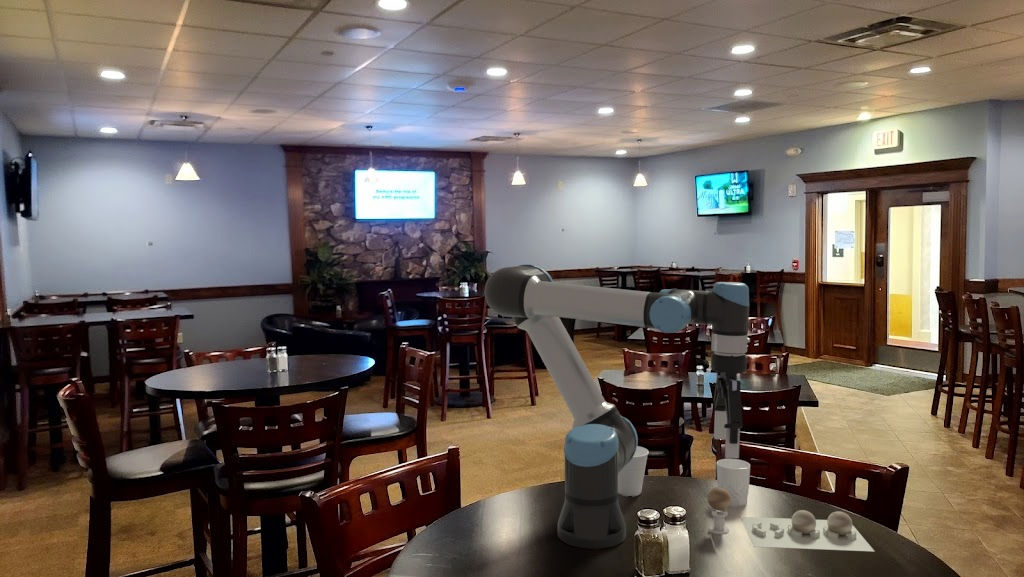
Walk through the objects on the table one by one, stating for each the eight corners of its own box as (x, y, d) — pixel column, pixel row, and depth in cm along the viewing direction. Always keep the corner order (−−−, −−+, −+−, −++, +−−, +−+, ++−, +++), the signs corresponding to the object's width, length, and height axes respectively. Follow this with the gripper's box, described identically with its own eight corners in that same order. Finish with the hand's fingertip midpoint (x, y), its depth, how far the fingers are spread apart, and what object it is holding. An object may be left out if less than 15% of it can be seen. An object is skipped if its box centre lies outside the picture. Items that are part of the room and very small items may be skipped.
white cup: (745, 497, 182) (746, 458, 181) (753, 510, 174) (753, 469, 173) (713, 497, 182) (713, 458, 182) (719, 509, 175) (719, 468, 174)
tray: (754, 549, 152) (754, 541, 152) (740, 519, 168) (740, 512, 168) (874, 554, 149) (875, 546, 149) (849, 523, 165) (849, 516, 165)
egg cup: (710, 536, 159) (710, 512, 159) (707, 528, 164) (707, 504, 163) (730, 537, 159) (730, 512, 158) (727, 528, 163) (727, 505, 163)
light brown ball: (709, 513, 159) (709, 491, 158) (705, 505, 164) (706, 483, 163) (732, 514, 158) (732, 492, 158) (728, 505, 163) (729, 484, 162)
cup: (609, 498, 182) (608, 456, 181) (610, 485, 192) (610, 444, 191) (649, 500, 181) (649, 457, 180) (648, 486, 190) (648, 445, 190)
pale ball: (831, 538, 156) (831, 516, 155) (824, 529, 161) (824, 507, 160) (855, 539, 155) (856, 517, 155) (847, 530, 160) (848, 508, 160)
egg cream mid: (794, 537, 157) (794, 514, 156) (788, 528, 162) (789, 506, 161) (818, 538, 156) (819, 515, 156) (812, 528, 161) (812, 506, 160)
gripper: (760, 364, 146) (756, 467, 148) (735, 344, 171) (731, 432, 173) (722, 363, 147) (718, 465, 149) (702, 343, 172) (699, 431, 173)
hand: (725, 447), depth 161 cm, fingers open, 13 cm apart
